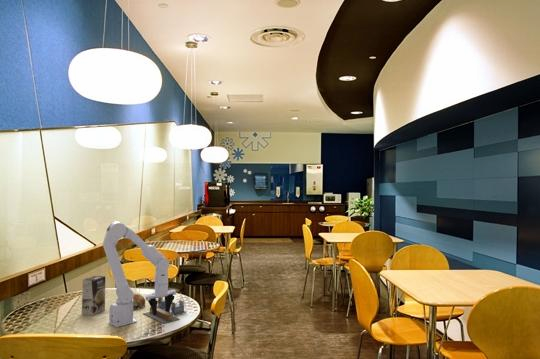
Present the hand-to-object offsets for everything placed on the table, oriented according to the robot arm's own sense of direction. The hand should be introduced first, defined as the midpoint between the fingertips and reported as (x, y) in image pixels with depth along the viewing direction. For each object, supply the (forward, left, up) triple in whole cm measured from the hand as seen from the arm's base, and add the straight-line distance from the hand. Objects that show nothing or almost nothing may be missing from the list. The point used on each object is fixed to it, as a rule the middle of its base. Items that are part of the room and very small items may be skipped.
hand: (161, 313), depth 183 cm
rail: (0, 0, -1) cm, 1 cm away
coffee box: (-19, +28, -2) cm, 34 cm away
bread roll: (-1, +23, -2) cm, 23 cm away
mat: (0, 0, -2) cm, 2 cm away
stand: (+8, +6, -2) cm, 10 cm away
